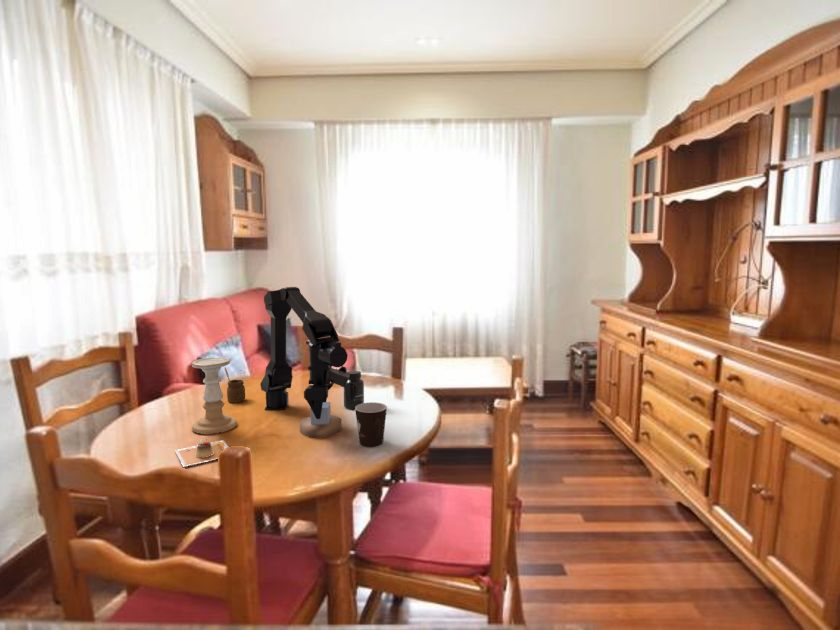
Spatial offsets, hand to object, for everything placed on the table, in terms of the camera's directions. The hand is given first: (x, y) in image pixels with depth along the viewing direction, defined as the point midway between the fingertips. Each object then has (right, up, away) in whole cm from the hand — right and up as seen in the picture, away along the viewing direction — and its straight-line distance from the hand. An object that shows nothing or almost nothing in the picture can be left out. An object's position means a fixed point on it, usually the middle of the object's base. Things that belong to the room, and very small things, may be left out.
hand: (320, 413), depth 139 cm
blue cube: (0, -2, 0) cm, 3 cm away
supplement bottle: (+7, -2, +22) cm, 23 cm away
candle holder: (-32, -5, +3) cm, 33 cm away
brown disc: (0, -5, +1) cm, 5 cm away
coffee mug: (+16, -7, -10) cm, 20 cm away
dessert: (-26, -8, -17) cm, 32 cm away
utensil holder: (-36, -2, +28) cm, 46 cm away
